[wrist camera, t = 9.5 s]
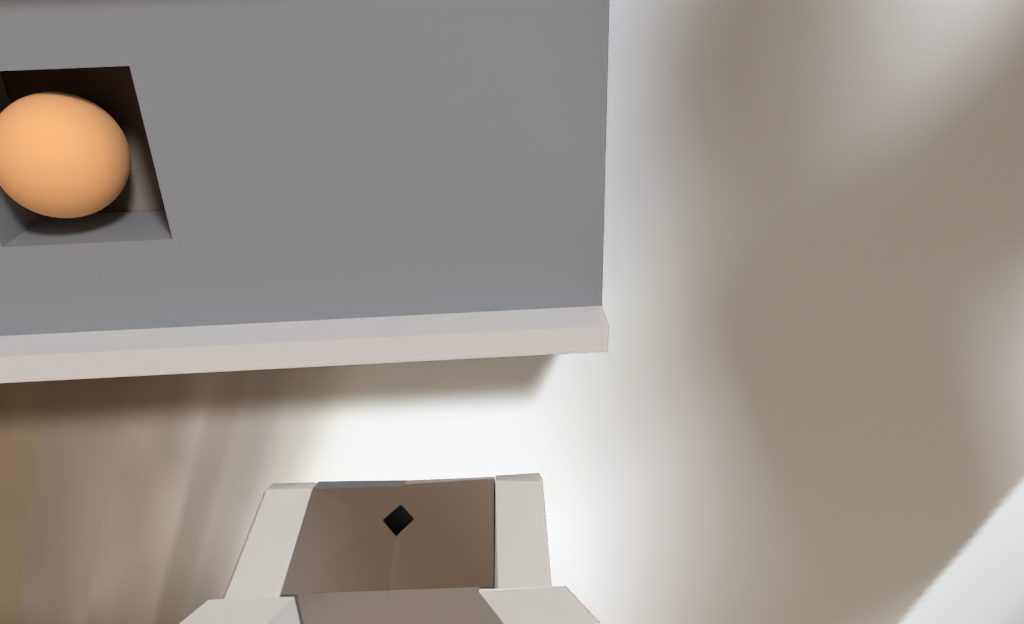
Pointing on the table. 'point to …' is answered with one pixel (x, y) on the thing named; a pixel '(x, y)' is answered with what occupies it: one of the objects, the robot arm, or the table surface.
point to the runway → (321, 187)
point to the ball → (61, 155)
